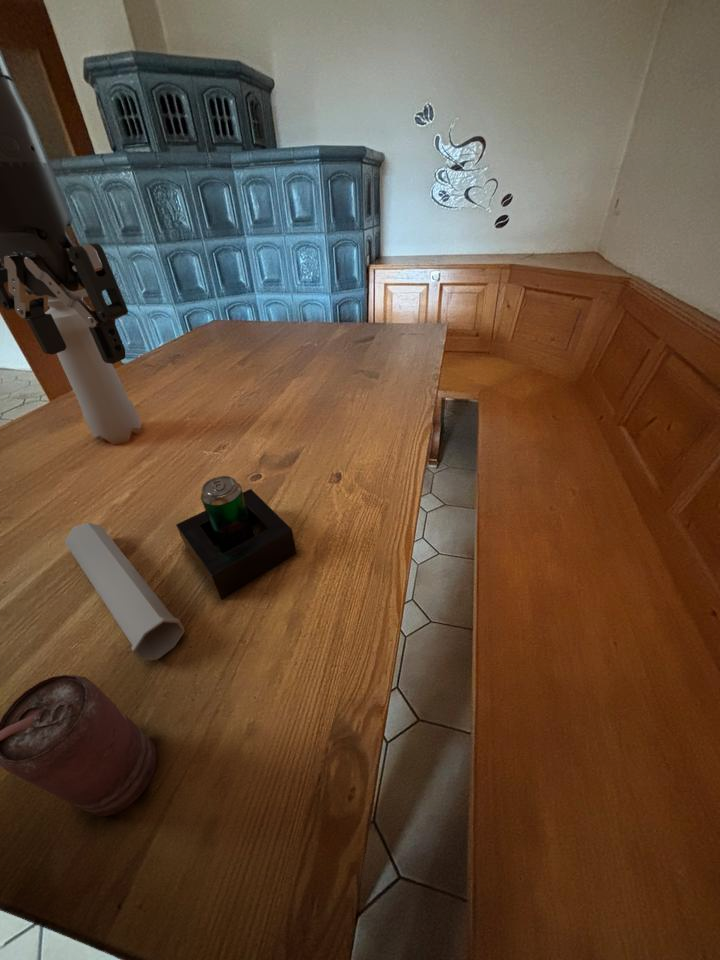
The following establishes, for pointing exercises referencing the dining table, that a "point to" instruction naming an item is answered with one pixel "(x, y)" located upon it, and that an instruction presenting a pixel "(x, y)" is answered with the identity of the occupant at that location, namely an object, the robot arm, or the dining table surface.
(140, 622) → the tube
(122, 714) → the can
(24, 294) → the robot arm
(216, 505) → the soda can
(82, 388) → the bottle
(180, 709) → the dining table surface
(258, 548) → the holder
